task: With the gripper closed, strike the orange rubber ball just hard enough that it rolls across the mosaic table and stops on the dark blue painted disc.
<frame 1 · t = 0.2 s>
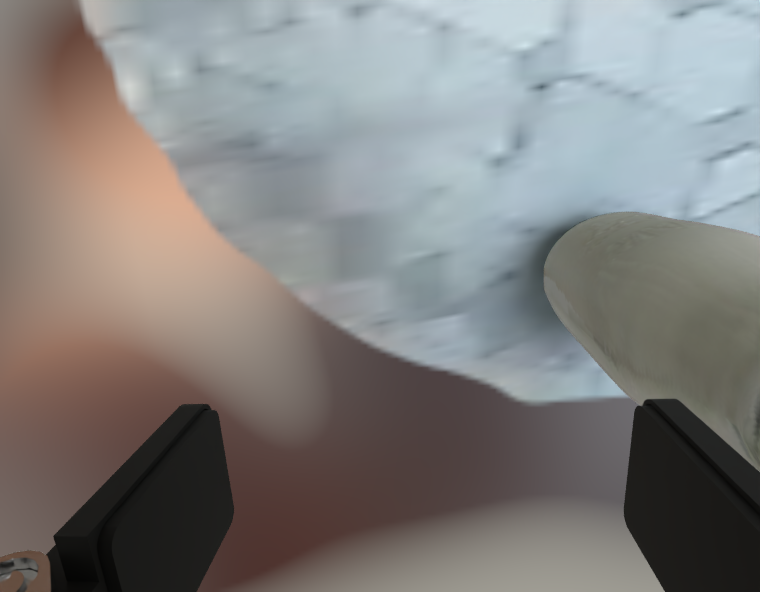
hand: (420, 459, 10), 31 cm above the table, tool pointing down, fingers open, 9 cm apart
grey beige bottle: (590, 264, 39), on the table
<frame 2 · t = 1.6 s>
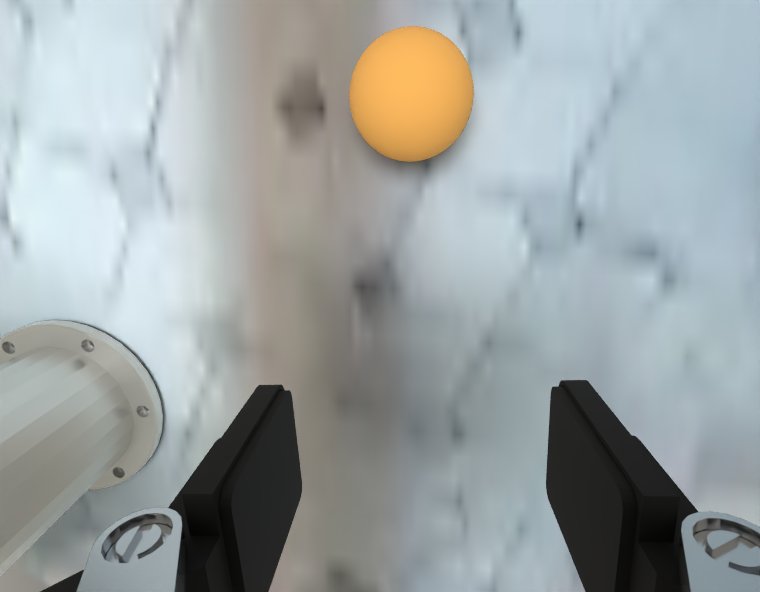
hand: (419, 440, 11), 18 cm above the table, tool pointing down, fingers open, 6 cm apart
ball: (410, 97, 22), on the table
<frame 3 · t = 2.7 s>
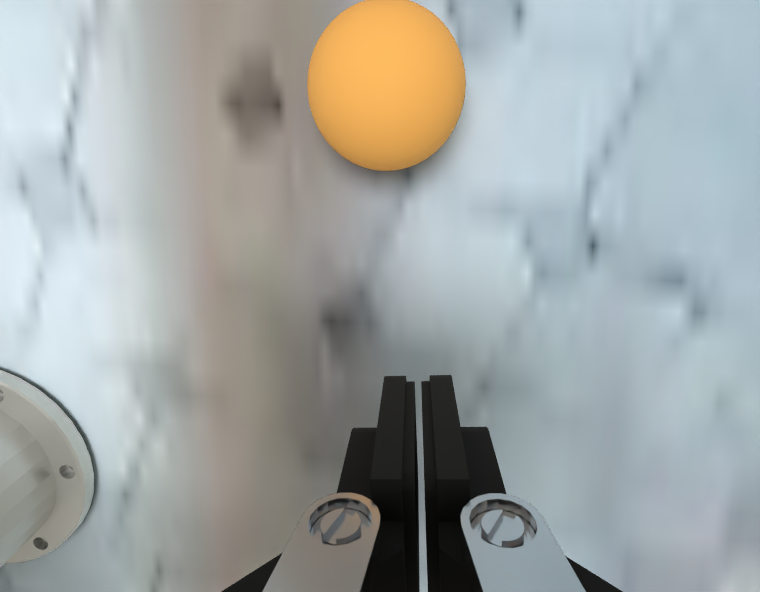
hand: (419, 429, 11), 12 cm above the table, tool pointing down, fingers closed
ball: (386, 90, 18), on the table
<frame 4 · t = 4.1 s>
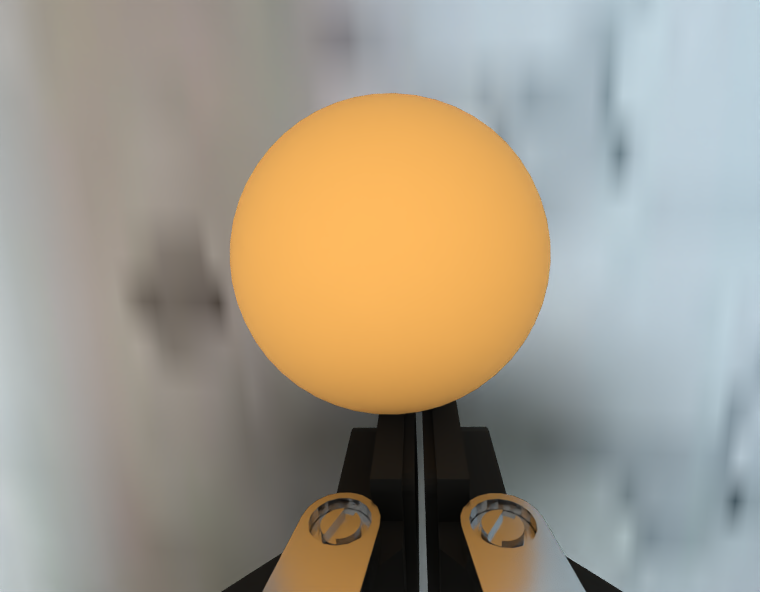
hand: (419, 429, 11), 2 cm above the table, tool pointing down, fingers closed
ball: (389, 258, 9), on the table
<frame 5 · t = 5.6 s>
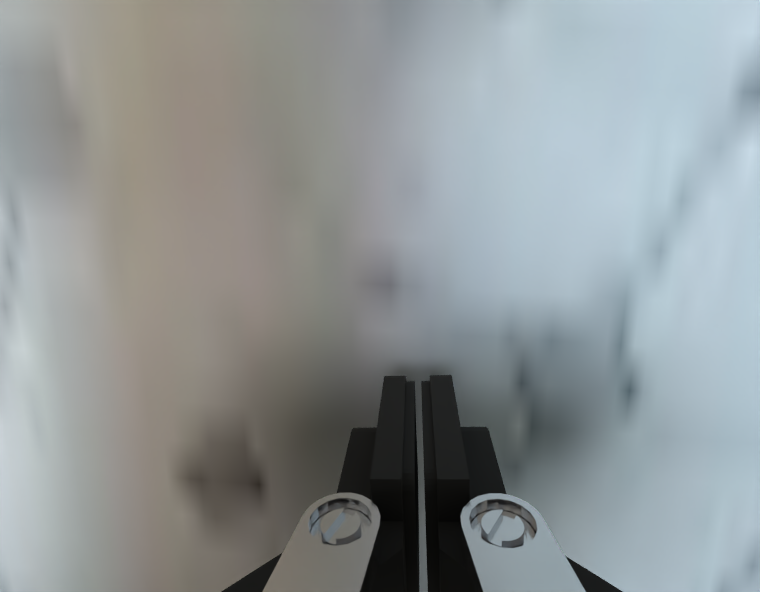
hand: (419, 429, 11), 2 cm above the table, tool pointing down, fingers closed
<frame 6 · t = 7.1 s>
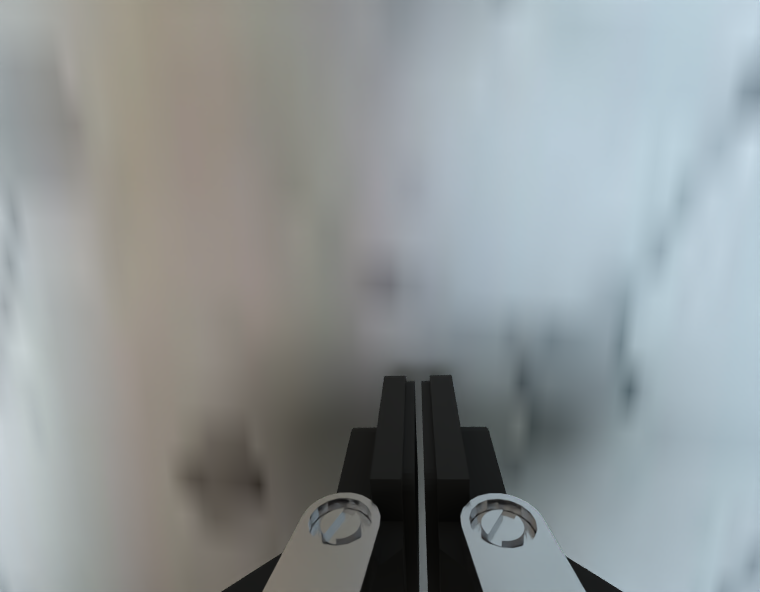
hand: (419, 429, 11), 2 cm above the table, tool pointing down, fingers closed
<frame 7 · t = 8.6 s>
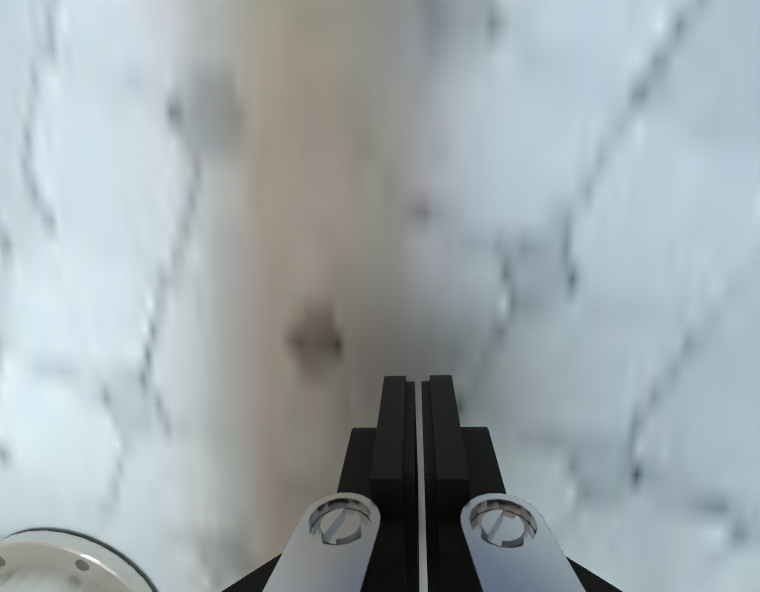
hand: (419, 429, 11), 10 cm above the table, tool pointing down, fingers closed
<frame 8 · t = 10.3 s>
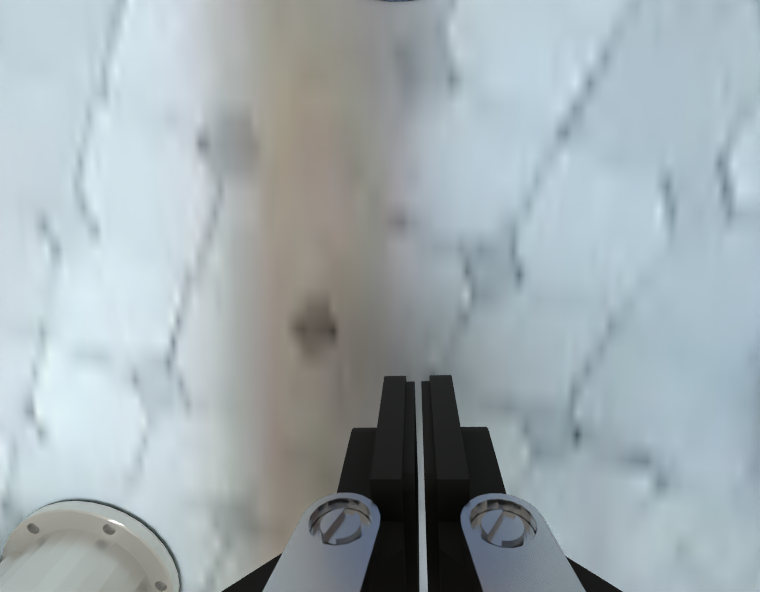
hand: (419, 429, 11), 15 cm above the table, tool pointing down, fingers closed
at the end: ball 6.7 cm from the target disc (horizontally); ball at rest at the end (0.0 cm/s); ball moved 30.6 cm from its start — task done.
